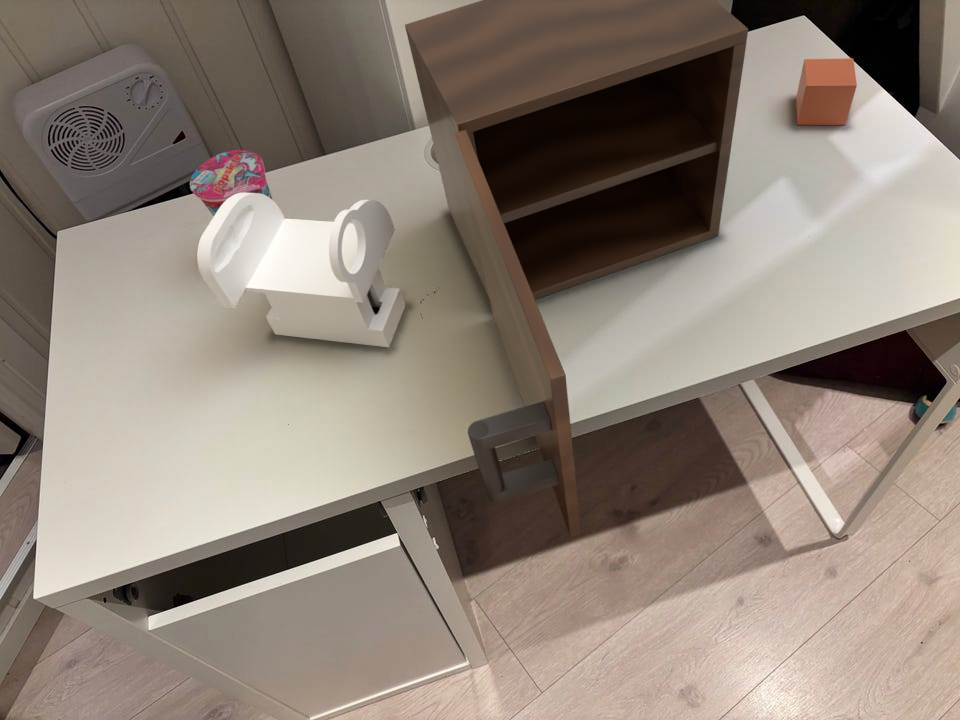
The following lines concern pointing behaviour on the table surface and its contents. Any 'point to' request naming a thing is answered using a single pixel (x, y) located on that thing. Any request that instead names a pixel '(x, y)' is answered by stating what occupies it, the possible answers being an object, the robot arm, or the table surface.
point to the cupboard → (585, 125)
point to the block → (825, 91)
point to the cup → (229, 178)
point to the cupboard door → (519, 365)
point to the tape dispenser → (305, 268)
